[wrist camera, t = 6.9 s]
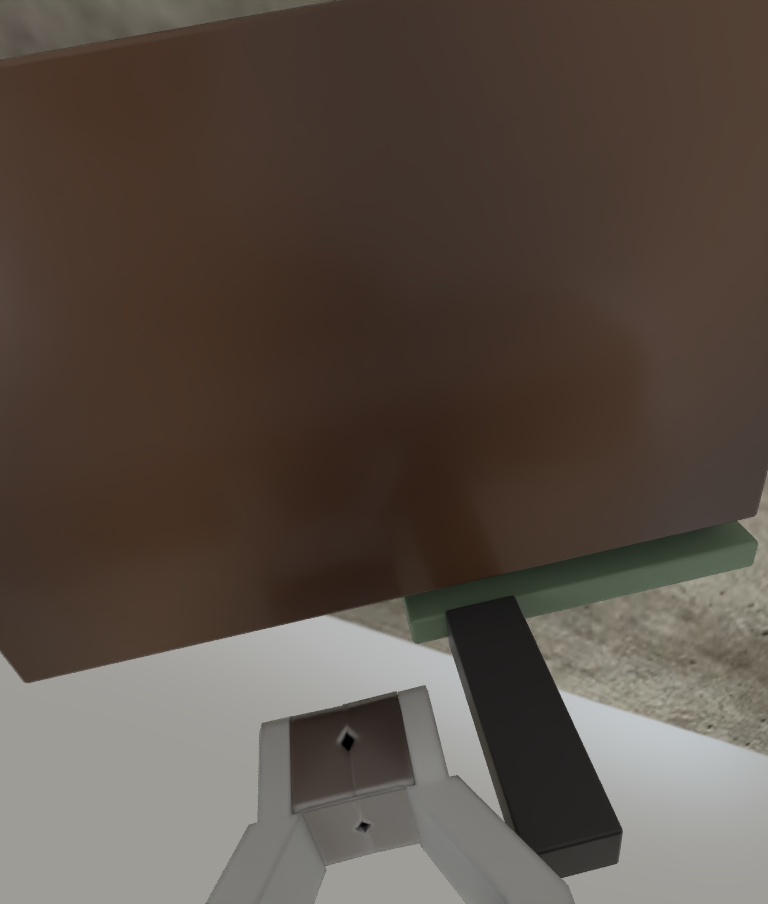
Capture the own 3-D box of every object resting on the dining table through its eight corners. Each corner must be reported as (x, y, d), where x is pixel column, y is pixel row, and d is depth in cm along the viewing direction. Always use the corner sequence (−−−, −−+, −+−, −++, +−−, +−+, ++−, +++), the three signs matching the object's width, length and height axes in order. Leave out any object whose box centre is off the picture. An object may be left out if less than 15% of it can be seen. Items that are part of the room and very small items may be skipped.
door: (355, 412, 21) (477, 901, 9) (349, 386, 20) (473, 870, 8) (560, 369, 21) (950, 779, 9) (560, 342, 20) (975, 741, 8)
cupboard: (152, 444, 21) (65, 738, 12) (-3, 87, 15) (-410, 131, 6) (542, 361, 22) (742, 579, 13) (541, -10, 16) (913, -102, 7)
